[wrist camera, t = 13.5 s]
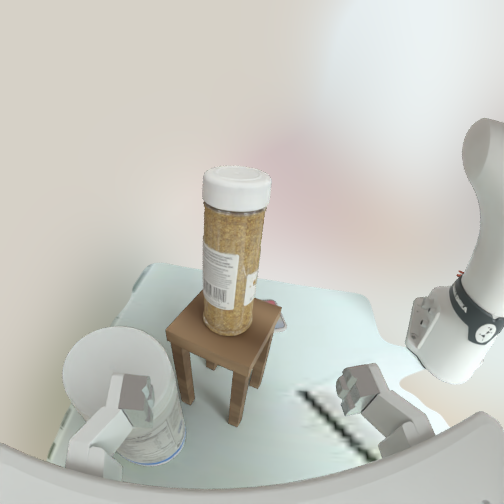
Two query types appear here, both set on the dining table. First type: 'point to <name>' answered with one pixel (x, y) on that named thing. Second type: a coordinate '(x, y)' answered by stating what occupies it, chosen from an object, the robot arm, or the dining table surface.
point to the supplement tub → (130, 362)
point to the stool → (223, 350)
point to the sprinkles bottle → (232, 245)
